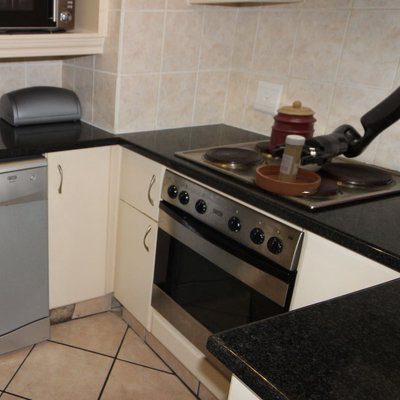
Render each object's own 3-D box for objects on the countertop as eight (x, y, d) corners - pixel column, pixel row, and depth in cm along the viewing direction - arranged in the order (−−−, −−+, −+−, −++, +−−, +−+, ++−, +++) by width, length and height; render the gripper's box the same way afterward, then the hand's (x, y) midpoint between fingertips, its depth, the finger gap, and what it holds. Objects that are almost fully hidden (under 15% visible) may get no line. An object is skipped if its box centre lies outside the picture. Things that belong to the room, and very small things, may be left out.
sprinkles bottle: (298, 186, 131) (309, 138, 126) (281, 186, 131) (292, 138, 126) (289, 180, 136) (299, 134, 130) (273, 180, 135) (283, 134, 130)
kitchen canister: (318, 154, 160) (328, 101, 154) (295, 160, 154) (305, 105, 147) (281, 146, 170) (290, 96, 164) (259, 151, 164) (267, 100, 158)
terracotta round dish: (329, 188, 131) (332, 177, 130) (296, 201, 123) (299, 188, 122) (275, 172, 144) (277, 161, 143) (242, 182, 136) (244, 170, 134)
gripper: (298, 131, 142) (265, 138, 133) (348, 142, 131) (316, 151, 122) (293, 155, 144) (260, 164, 136) (341, 168, 134) (310, 178, 125)
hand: (287, 158), depth 129 cm, fingers open, 7 cm apart
